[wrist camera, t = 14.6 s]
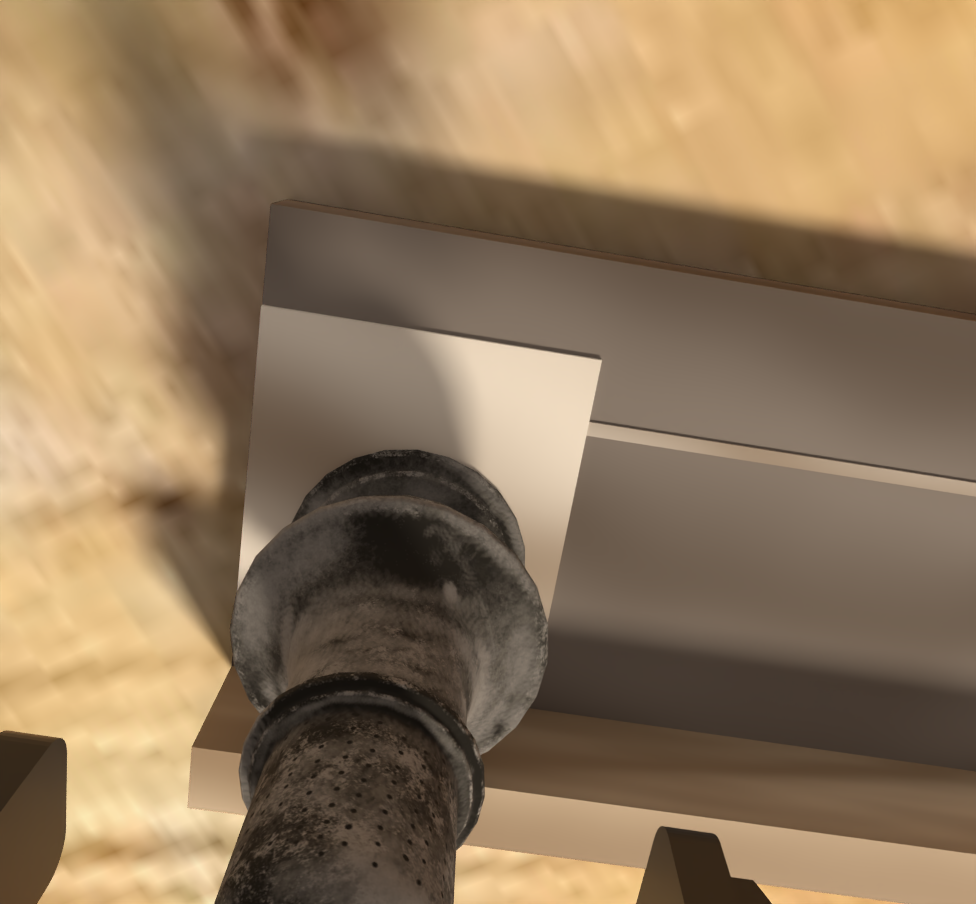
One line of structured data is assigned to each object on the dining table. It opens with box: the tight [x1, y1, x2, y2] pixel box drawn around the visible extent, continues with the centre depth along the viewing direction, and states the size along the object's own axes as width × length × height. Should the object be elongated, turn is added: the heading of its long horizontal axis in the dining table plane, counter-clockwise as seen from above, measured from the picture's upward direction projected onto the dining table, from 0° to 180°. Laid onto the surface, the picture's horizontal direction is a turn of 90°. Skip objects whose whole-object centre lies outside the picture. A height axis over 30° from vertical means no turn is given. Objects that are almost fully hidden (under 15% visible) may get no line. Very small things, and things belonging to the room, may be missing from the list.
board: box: [188, 199, 976, 904], centre depth 20 cm, size 12×22×4 cm, turn 81°
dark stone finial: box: [215, 450, 548, 904], centre depth 15 cm, size 6×6×12 cm
